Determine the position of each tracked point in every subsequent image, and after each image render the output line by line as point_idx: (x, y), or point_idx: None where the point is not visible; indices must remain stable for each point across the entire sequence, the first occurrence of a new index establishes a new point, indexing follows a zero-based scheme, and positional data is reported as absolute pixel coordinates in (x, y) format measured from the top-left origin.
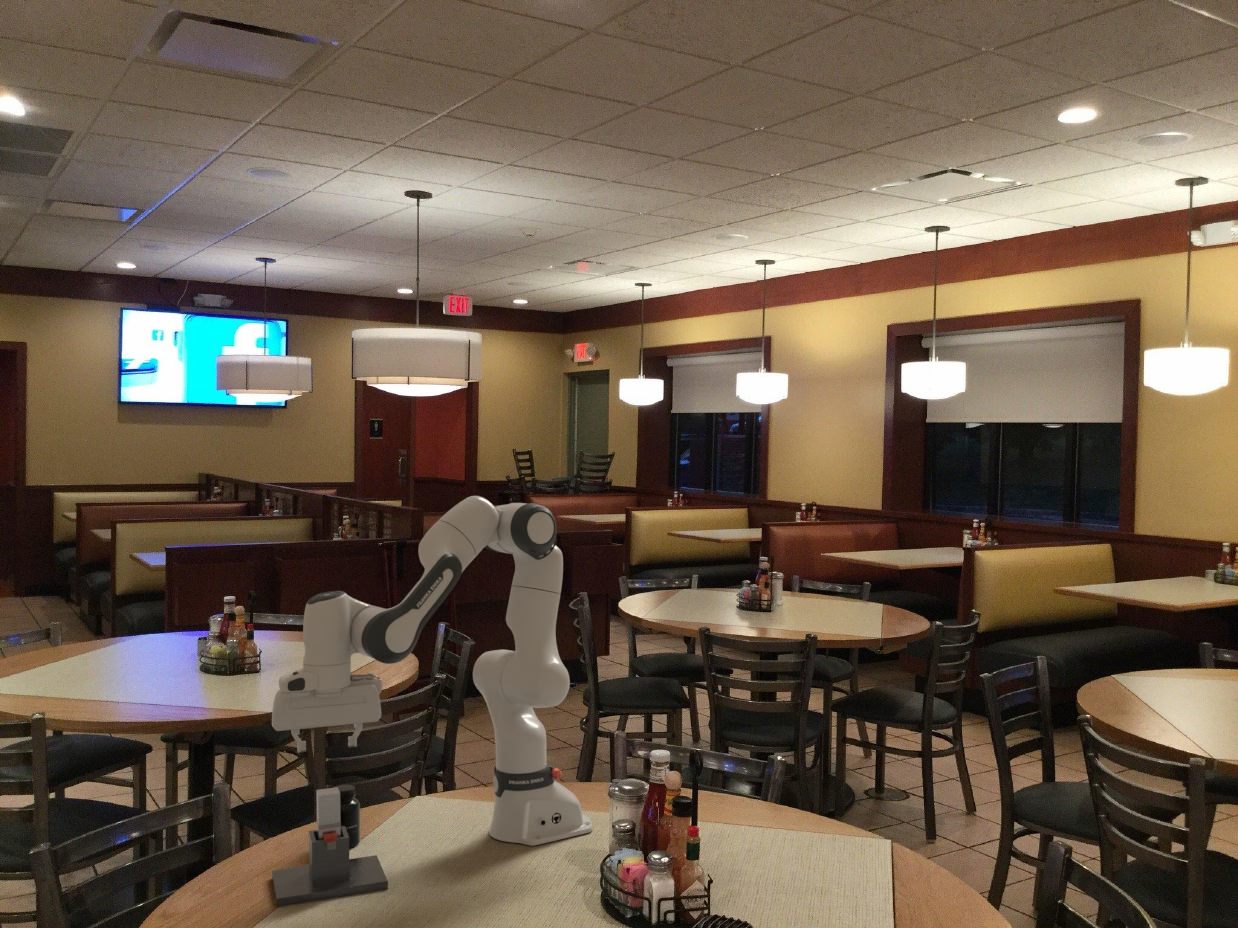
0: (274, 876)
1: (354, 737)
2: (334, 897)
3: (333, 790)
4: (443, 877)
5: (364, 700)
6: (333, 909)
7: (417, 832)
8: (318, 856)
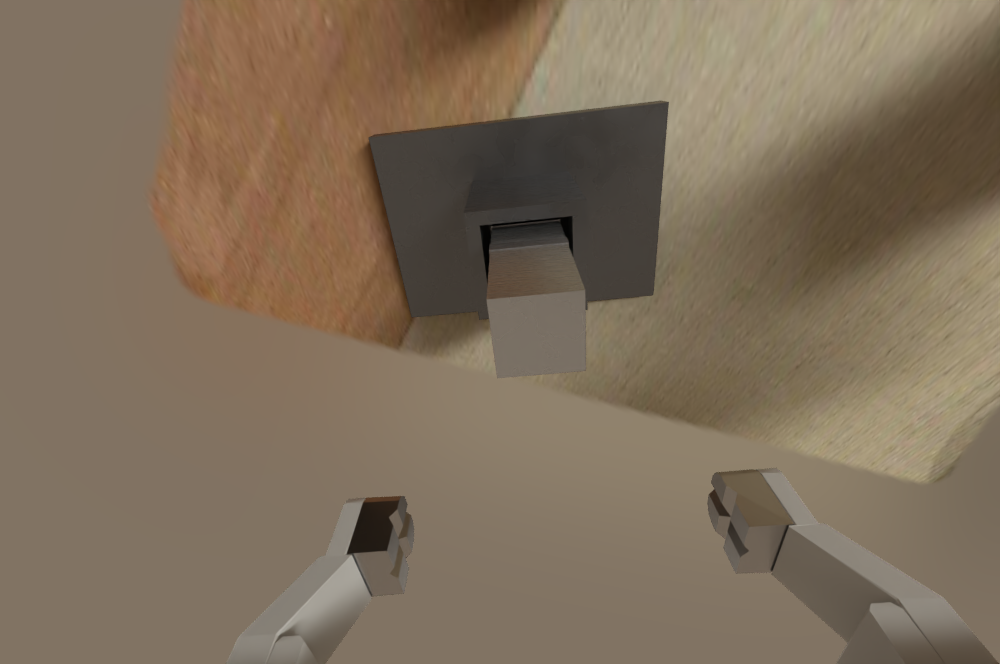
0: (383, 184)
1: (780, 573)
2: None
3: (561, 328)
4: (784, 262)
5: None
6: None
7: None
8: None
